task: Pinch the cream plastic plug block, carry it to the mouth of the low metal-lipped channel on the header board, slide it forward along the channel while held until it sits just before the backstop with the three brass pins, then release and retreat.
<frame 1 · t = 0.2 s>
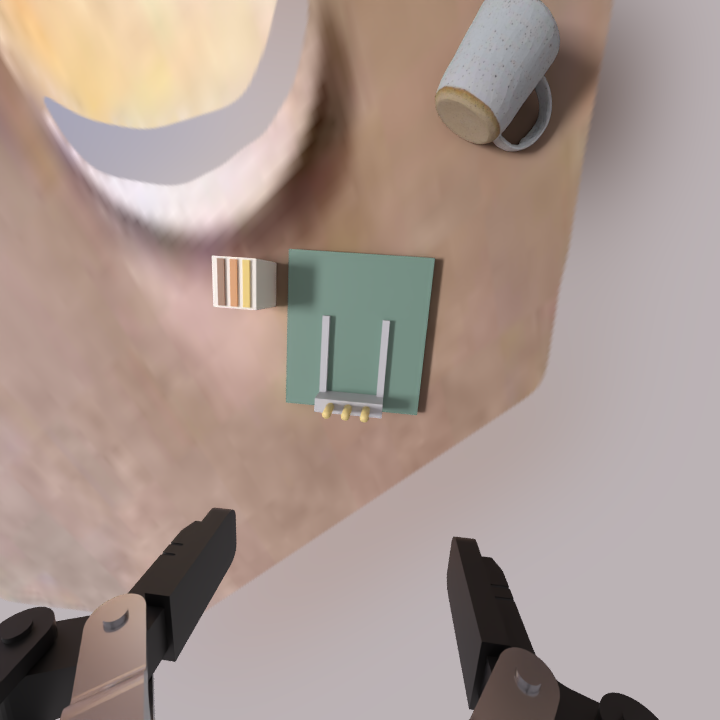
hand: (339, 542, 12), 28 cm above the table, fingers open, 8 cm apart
plug block: (257, 283, 39), on the table
ceramic mug: (492, 106, 33), on the table
header board: (356, 333, 39), on the table
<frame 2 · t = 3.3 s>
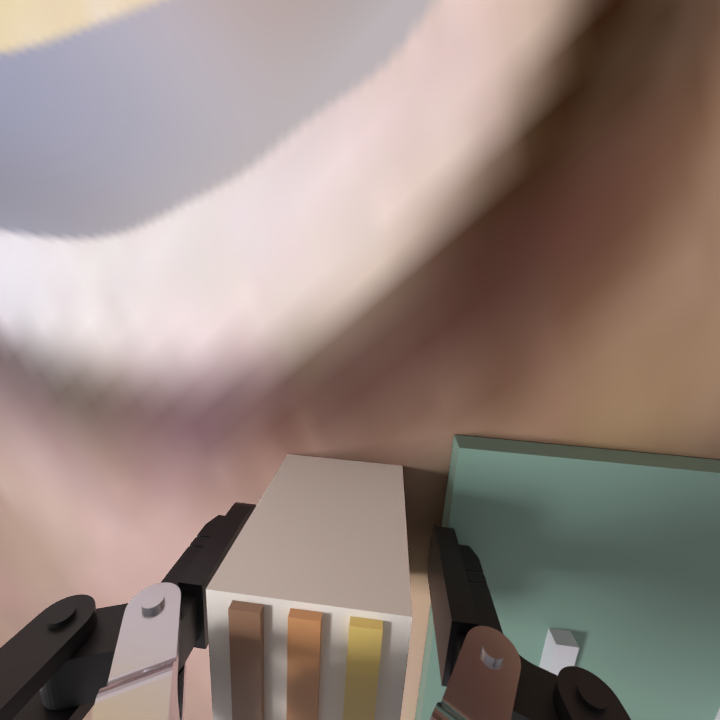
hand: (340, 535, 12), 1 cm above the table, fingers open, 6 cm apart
plug block: (341, 514, 13), on the table
header board: (623, 654, 14), on the table
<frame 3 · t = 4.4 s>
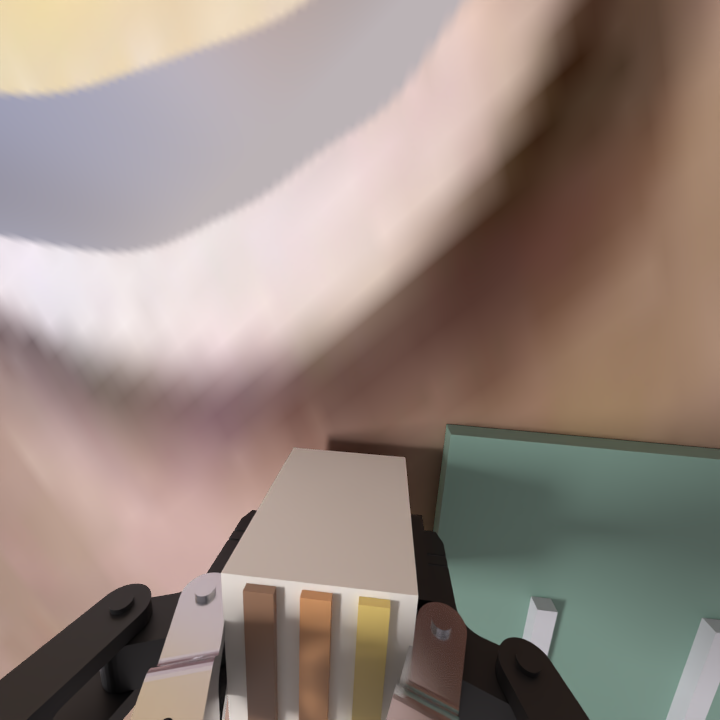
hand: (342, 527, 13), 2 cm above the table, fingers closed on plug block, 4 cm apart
plug block: (346, 506, 14), point 1 cm above the table, touching gripper
header board: (599, 622, 15), on the table
when the fingers open (2 cm above the table, at t = 11.5 s): plug block stays where it is, resting on header board.
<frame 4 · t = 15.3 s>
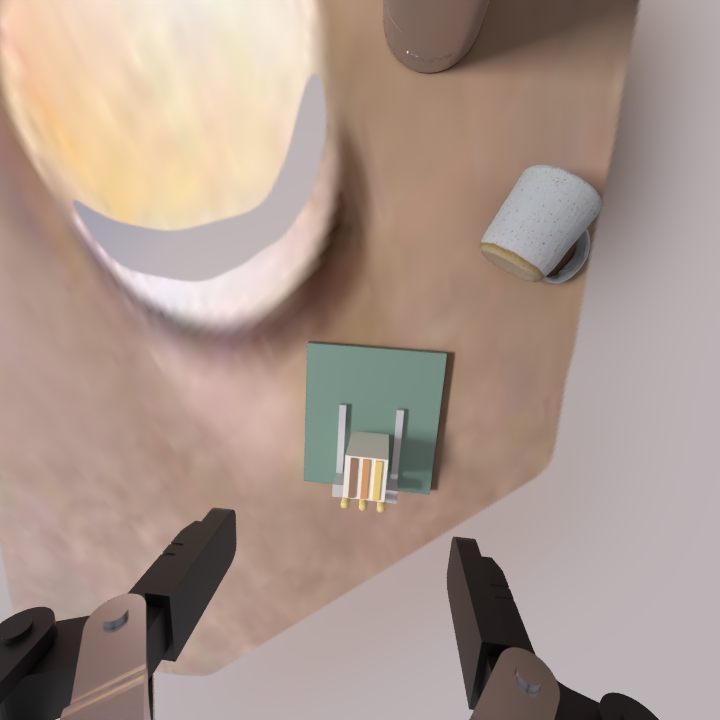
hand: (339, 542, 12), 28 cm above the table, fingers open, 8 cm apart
plug block: (368, 451, 41), point 1 cm above the table, touching header board
ceramic mug: (531, 238, 35), on the table
header board: (371, 418, 41), on the table
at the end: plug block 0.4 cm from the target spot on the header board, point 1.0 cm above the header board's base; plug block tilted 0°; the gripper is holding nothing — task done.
